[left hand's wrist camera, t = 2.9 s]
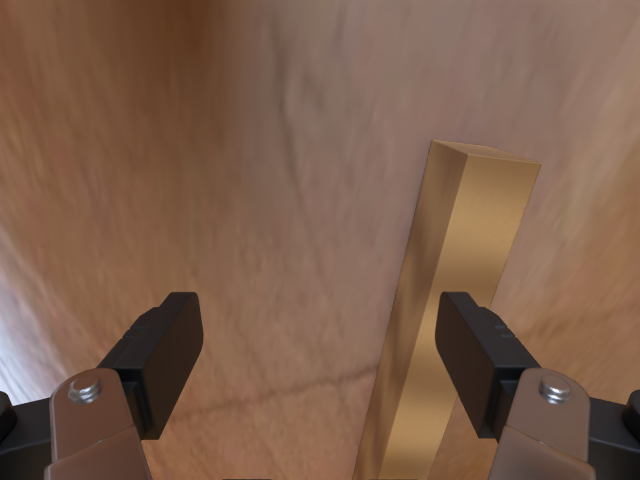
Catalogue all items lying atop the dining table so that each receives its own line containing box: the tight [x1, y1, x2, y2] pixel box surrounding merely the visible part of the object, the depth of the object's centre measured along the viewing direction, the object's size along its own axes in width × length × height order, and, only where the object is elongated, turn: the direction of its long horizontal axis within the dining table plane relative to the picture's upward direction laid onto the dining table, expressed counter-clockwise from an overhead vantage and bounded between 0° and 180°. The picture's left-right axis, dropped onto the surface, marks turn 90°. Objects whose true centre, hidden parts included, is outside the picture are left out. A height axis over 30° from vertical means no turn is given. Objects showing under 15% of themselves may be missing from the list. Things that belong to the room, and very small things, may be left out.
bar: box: [352, 139, 541, 480], centre depth 34 cm, size 53×4×7 cm, turn 173°
